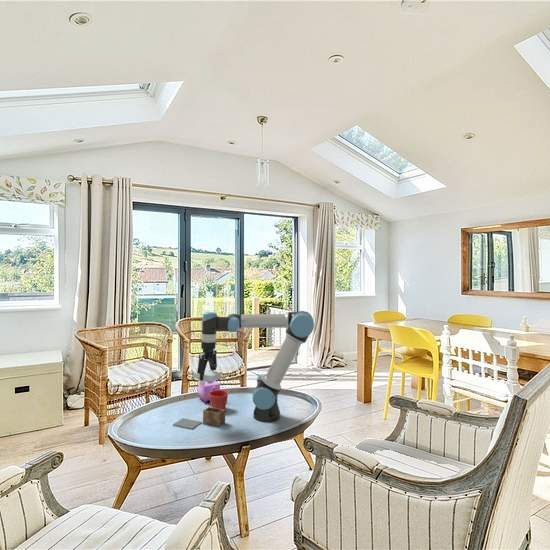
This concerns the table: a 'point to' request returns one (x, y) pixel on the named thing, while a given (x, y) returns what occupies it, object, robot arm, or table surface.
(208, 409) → the tea box
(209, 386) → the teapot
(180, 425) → the plate
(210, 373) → the lid
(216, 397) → the flower pot
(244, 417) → the table surface
